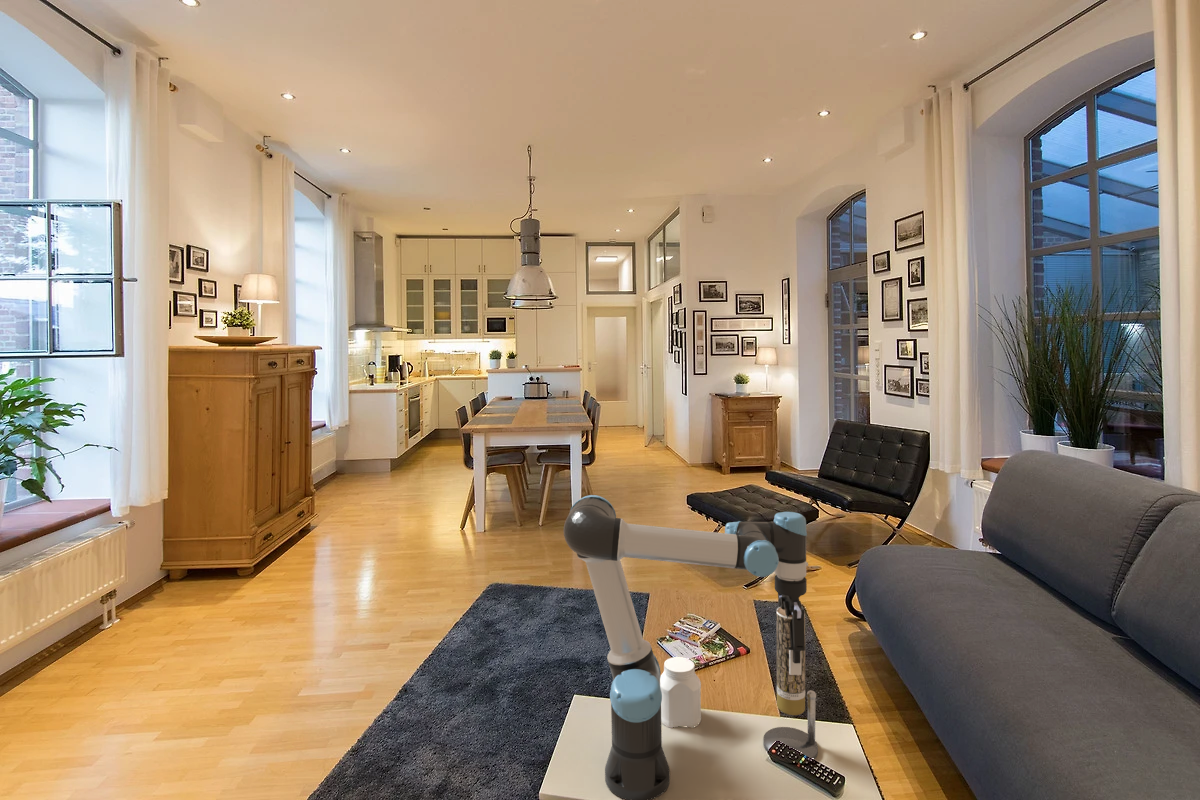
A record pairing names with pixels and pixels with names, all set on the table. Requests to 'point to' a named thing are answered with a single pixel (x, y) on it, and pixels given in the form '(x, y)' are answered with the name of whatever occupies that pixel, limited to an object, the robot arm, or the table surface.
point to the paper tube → (788, 685)
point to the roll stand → (796, 733)
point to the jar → (680, 693)
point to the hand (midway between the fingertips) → (790, 666)
